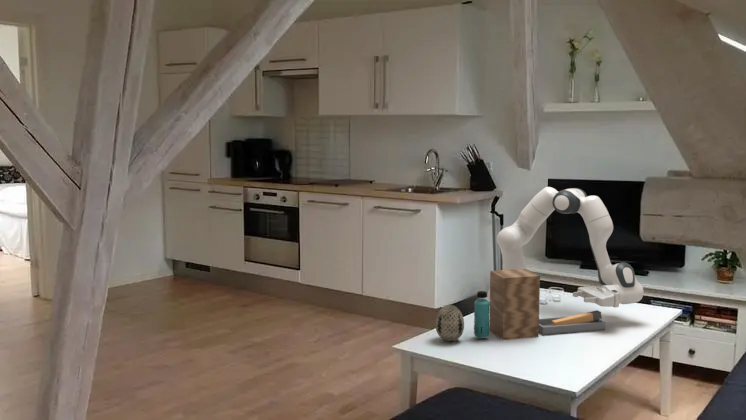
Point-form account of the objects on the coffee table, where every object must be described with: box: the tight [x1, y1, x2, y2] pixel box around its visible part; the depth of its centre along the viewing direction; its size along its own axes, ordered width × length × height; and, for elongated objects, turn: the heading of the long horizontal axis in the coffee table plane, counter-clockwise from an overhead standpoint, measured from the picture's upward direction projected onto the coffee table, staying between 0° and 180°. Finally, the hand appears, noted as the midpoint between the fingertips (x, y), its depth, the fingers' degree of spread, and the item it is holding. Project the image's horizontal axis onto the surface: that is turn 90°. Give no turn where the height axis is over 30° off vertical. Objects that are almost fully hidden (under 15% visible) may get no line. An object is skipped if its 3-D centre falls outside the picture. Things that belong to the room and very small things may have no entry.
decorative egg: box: [435, 304, 465, 342], centre depth 288 cm, size 12×12×15 cm
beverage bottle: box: [473, 290, 490, 338], centre depth 290 cm, size 6×7×20 cm
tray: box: [539, 315, 606, 337], centre depth 304 cm, size 29×12×4 cm, turn 103°
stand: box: [489, 268, 541, 341], centre depth 297 cm, size 16×14×26 cm
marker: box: [552, 309, 602, 326], centre depth 305 cm, size 22×3×3 cm, turn 103°
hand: (578, 297), depth 304 cm, fingers open, 8 cm apart
